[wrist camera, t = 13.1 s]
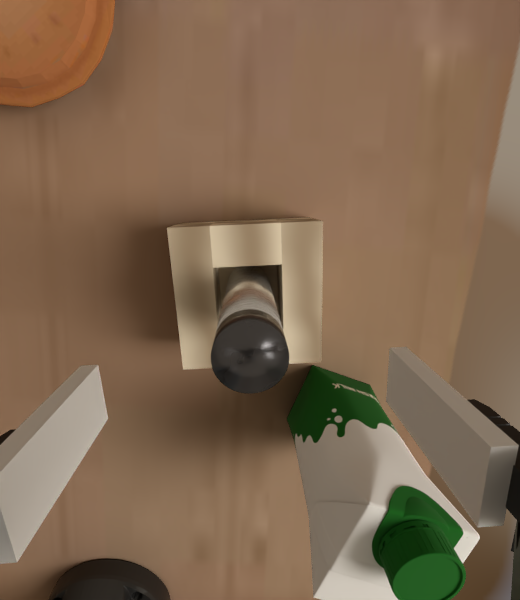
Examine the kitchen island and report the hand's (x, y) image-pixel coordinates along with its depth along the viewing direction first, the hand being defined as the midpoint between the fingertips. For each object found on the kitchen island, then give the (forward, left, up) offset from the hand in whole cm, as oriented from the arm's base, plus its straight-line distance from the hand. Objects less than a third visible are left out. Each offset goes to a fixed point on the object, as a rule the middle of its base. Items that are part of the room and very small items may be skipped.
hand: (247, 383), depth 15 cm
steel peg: (0, 0, -18) cm, 18 cm away
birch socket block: (0, 0, -19) cm, 19 cm away
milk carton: (+8, -14, -19) cm, 25 cm away
